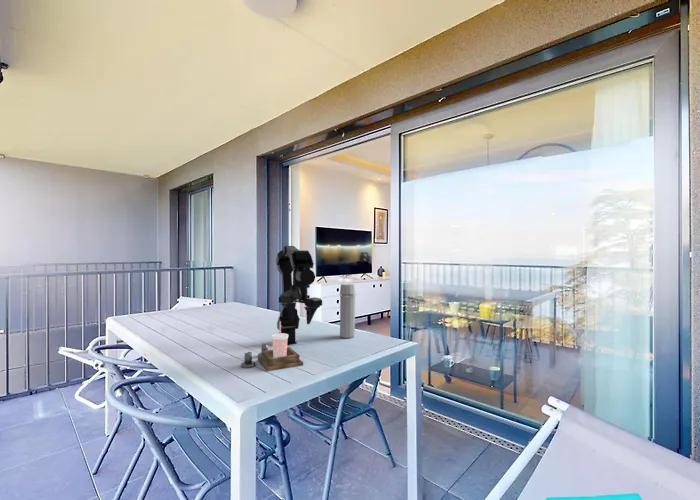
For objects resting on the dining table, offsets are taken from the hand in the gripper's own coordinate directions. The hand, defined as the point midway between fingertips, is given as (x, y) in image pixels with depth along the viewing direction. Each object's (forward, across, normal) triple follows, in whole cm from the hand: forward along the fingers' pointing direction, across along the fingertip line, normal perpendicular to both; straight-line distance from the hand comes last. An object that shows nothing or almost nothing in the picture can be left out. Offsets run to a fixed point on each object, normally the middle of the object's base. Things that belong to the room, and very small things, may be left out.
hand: (299, 322), depth 131 cm
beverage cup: (+12, 0, -10) cm, 16 cm away
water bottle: (+13, -2, +34) cm, 36 cm away
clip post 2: (+13, -10, -9) cm, 19 cm away
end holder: (+13, 0, -10) cm, 16 cm away
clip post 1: (+13, -6, -19) cm, 24 cm away
